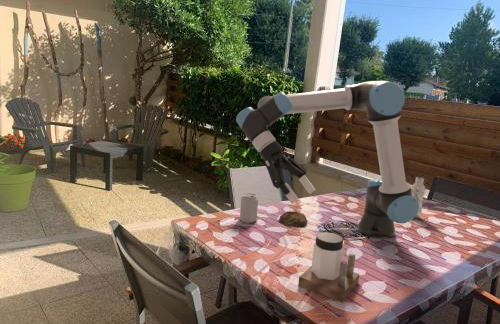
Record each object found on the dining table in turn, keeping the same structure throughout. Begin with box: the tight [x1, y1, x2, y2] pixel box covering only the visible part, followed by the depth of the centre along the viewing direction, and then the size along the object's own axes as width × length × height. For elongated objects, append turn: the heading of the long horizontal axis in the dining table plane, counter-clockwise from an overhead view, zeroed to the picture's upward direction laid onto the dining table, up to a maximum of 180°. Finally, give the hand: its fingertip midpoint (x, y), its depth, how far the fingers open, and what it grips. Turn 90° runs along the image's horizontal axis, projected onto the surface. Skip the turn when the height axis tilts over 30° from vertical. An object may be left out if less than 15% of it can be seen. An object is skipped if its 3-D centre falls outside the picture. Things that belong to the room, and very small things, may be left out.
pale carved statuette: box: [411, 176, 426, 219], centre depth 183 cm, size 6×7×20 cm
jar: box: [311, 232, 345, 280], centre depth 116 cm, size 9×8×12 cm
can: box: [239, 192, 259, 224], centre depth 166 cm, size 8×8×12 cm
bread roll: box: [278, 210, 308, 228], centre depth 169 cm, size 13×12×5 cm
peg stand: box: [298, 253, 360, 303], centre depth 116 cm, size 14×14×10 cm
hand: (304, 196), depth 126 cm, fingers open, 13 cm apart
